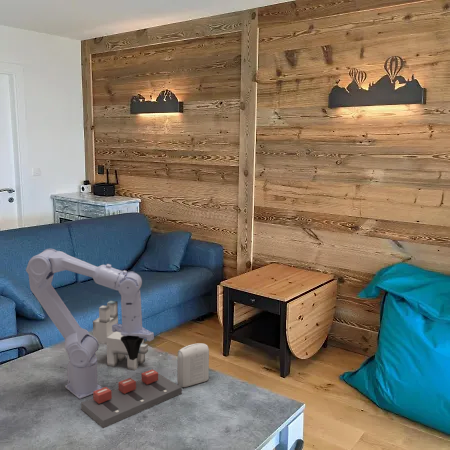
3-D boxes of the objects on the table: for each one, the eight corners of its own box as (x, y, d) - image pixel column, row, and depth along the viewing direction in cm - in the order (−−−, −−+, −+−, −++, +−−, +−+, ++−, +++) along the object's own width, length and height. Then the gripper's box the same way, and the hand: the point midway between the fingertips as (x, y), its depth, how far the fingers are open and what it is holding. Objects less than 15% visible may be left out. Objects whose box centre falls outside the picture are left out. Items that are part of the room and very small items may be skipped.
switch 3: (141, 380, 146) (141, 373, 146) (152, 376, 149) (152, 369, 148) (147, 384, 144) (147, 376, 144) (158, 380, 147) (158, 372, 146)
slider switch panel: (81, 409, 135) (81, 402, 134) (157, 378, 152) (157, 372, 152) (103, 427, 126) (103, 420, 126) (181, 393, 144) (181, 386, 143)
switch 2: (118, 389, 141) (118, 381, 140) (130, 385, 143) (130, 377, 143) (124, 393, 139) (123, 385, 138) (135, 389, 141) (135, 381, 141)
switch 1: (93, 399, 135) (93, 391, 135) (106, 394, 138) (105, 386, 138) (98, 403, 133) (98, 395, 133) (111, 398, 136) (111, 390, 135)
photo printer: (203, 375, 155) (204, 338, 153) (210, 380, 152) (211, 343, 150) (175, 383, 150) (175, 346, 148) (181, 389, 146) (181, 351, 144)
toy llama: (141, 371, 157) (140, 313, 154) (94, 363, 162) (92, 306, 159) (151, 362, 164) (150, 305, 161) (106, 354, 169) (104, 299, 166)
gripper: (103, 314, 141) (105, 358, 143) (141, 323, 134) (143, 369, 136) (120, 307, 147) (122, 349, 149) (157, 315, 140) (159, 359, 142)
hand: (133, 358), depth 143 cm, fingers closed
